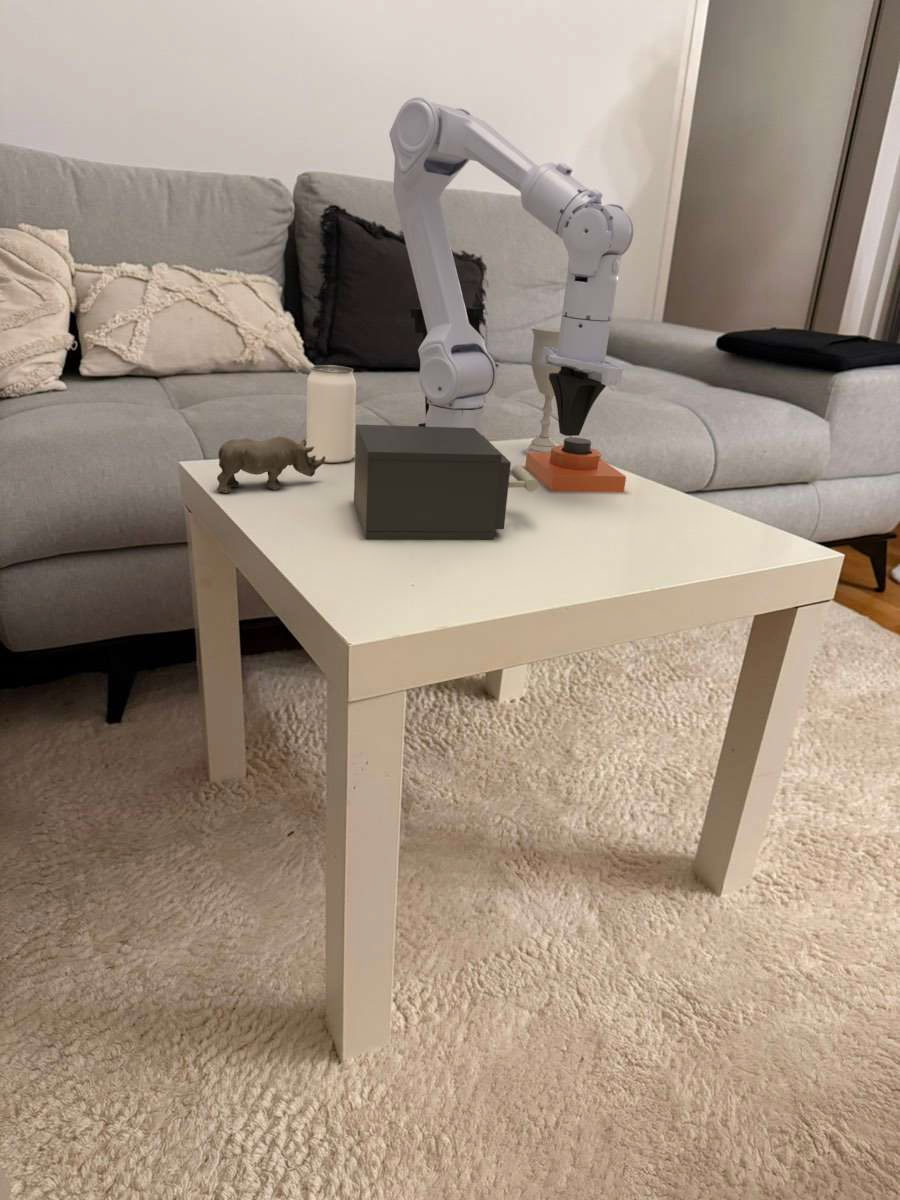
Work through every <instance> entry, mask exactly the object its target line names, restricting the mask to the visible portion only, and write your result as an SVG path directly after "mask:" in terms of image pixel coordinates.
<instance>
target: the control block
mask: <svg viewBox="0 0 900 1200" xmlns="http://www.w3.org/2000/svg"><path fill="white" fill-rule="evenodd" d="M563 445H564V444H559V445H556V446H554V447H553V448H552V449H551V453H533V452H527V453H526V455H525V465H524V467H525V469H526V470H528V471H529V472H530V474H532V475H533V476H534V477H536V479H537V480H538V481H540V482H541V483H542V484H543V485H544V487H546V488H547V489H548V490H549V491H550V492H593V493H594V492H595V493H596V492H597V493H624V492H625V487H626V481H627V480H626V479H627V476H626V475H625V474H623V473H622V472H620V471H619V470H618V469H616V468H615V467H613V466H612V465H610V464H609V463H608V462H606V461H604V460H603V459H602V452H601V451H600V450H598V449H595V448H592V447H591V448H590V454H587V455H577V454H570V453H566V452H563Z"/></svg>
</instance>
